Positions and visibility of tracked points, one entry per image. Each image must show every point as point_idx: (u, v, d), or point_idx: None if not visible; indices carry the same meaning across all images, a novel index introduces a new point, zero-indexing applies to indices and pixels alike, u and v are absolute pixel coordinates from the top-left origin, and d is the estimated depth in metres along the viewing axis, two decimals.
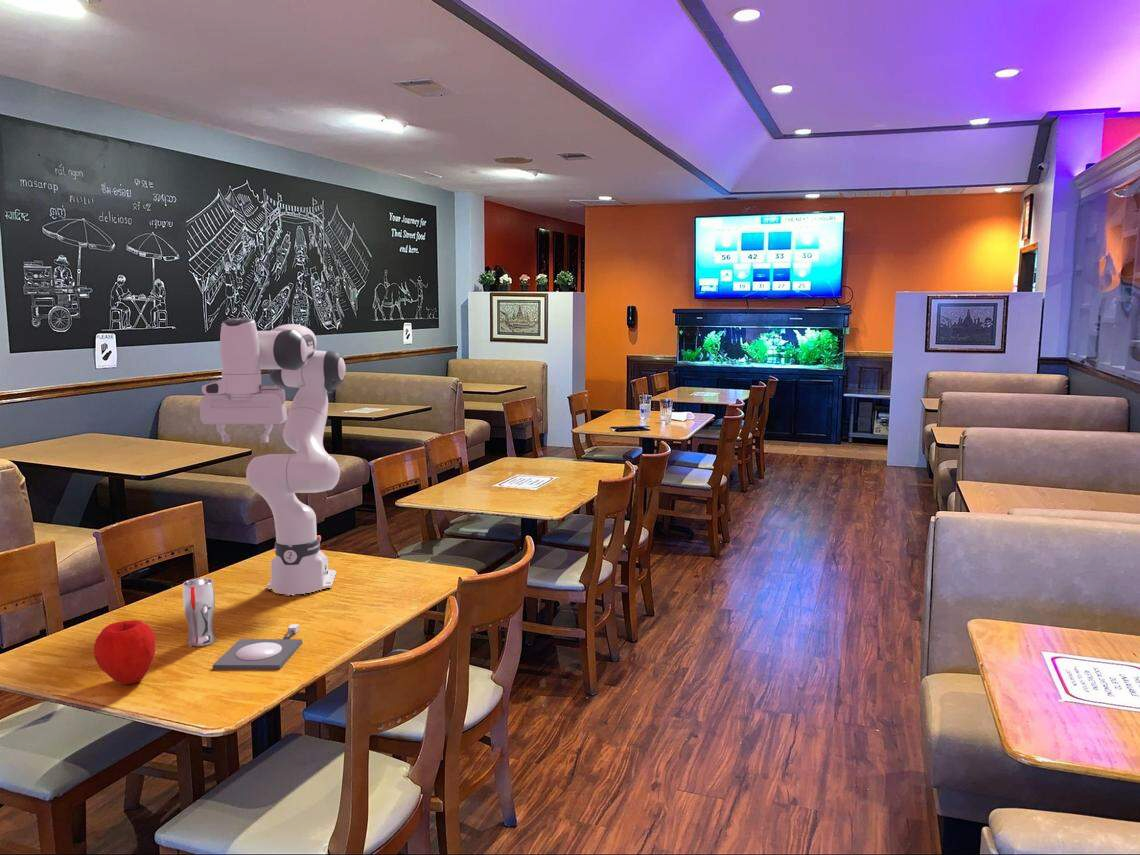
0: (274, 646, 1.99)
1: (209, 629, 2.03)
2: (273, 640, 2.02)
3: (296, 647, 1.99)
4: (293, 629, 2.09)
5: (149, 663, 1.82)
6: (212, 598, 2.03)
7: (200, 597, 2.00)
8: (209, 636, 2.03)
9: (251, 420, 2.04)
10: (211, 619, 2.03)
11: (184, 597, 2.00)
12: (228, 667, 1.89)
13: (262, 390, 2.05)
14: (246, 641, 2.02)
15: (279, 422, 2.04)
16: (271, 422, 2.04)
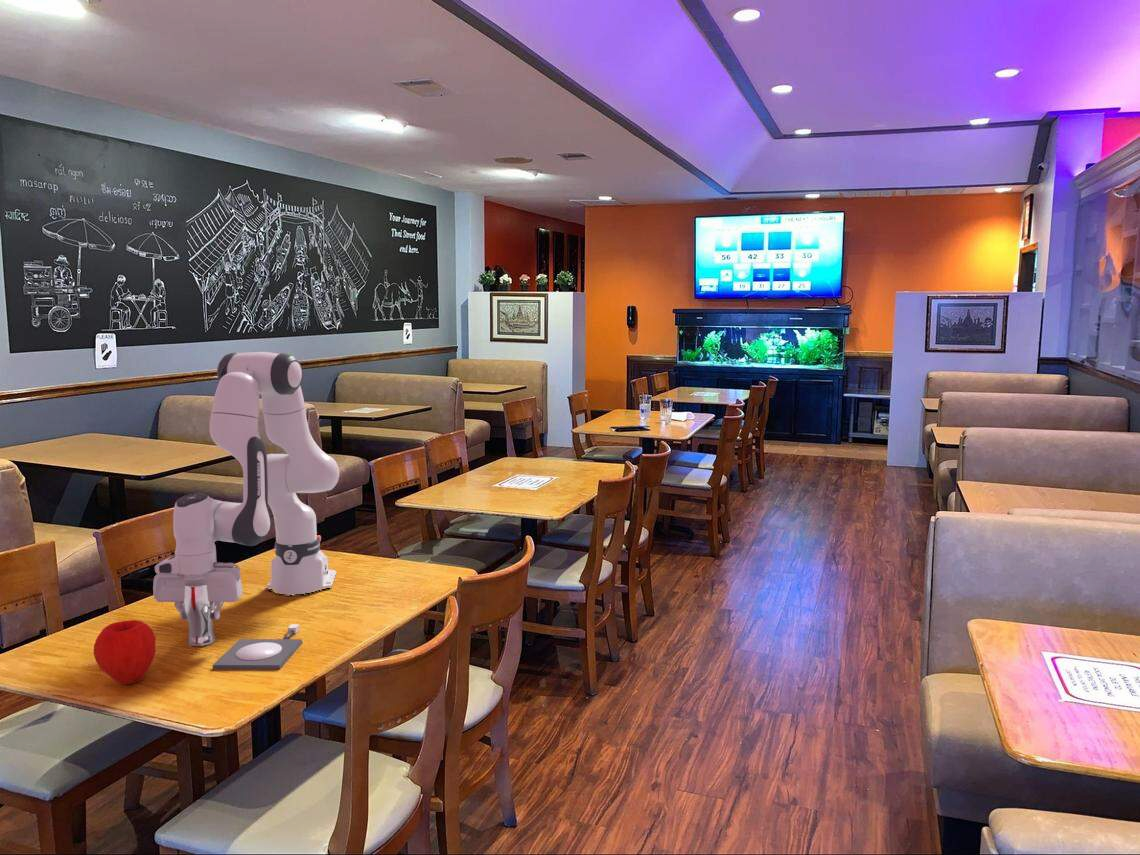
0: (274, 646, 1.99)
1: (209, 629, 2.03)
2: (273, 640, 2.02)
3: (296, 647, 1.99)
4: (293, 629, 2.09)
5: (149, 663, 1.82)
6: None
7: (200, 597, 2.00)
8: (209, 636, 2.03)
9: None
10: (211, 619, 2.03)
11: (184, 597, 2.00)
12: (228, 667, 1.89)
13: (216, 568, 2.01)
14: (246, 641, 2.02)
15: (234, 600, 2.01)
16: (225, 600, 2.01)
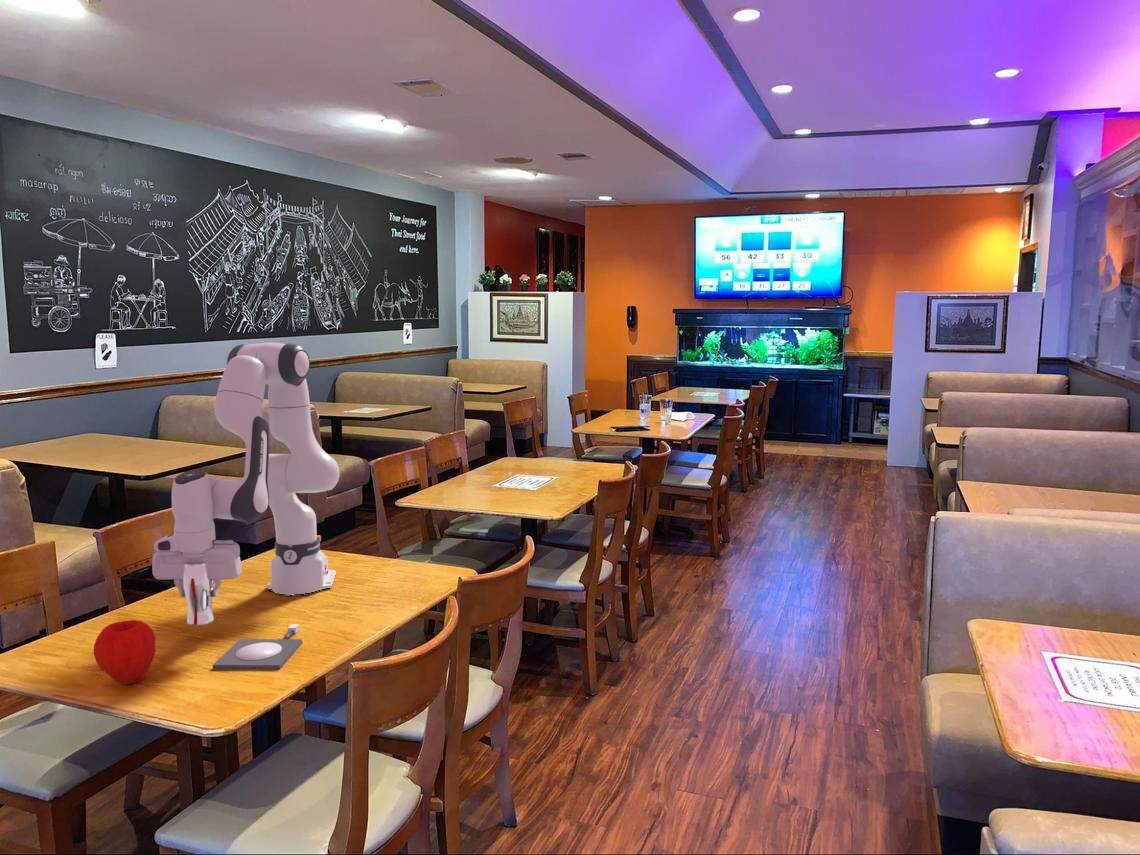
0: (274, 646, 1.99)
1: (208, 608, 2.03)
2: (273, 640, 2.02)
3: (296, 647, 1.99)
4: (293, 629, 2.09)
5: (149, 663, 1.82)
6: None
7: (200, 575, 1.99)
8: (208, 615, 2.02)
9: None
10: (210, 598, 2.03)
11: (183, 575, 2.00)
12: (228, 667, 1.89)
13: (215, 545, 2.01)
14: (246, 641, 2.02)
15: (233, 578, 2.01)
16: (225, 578, 2.01)
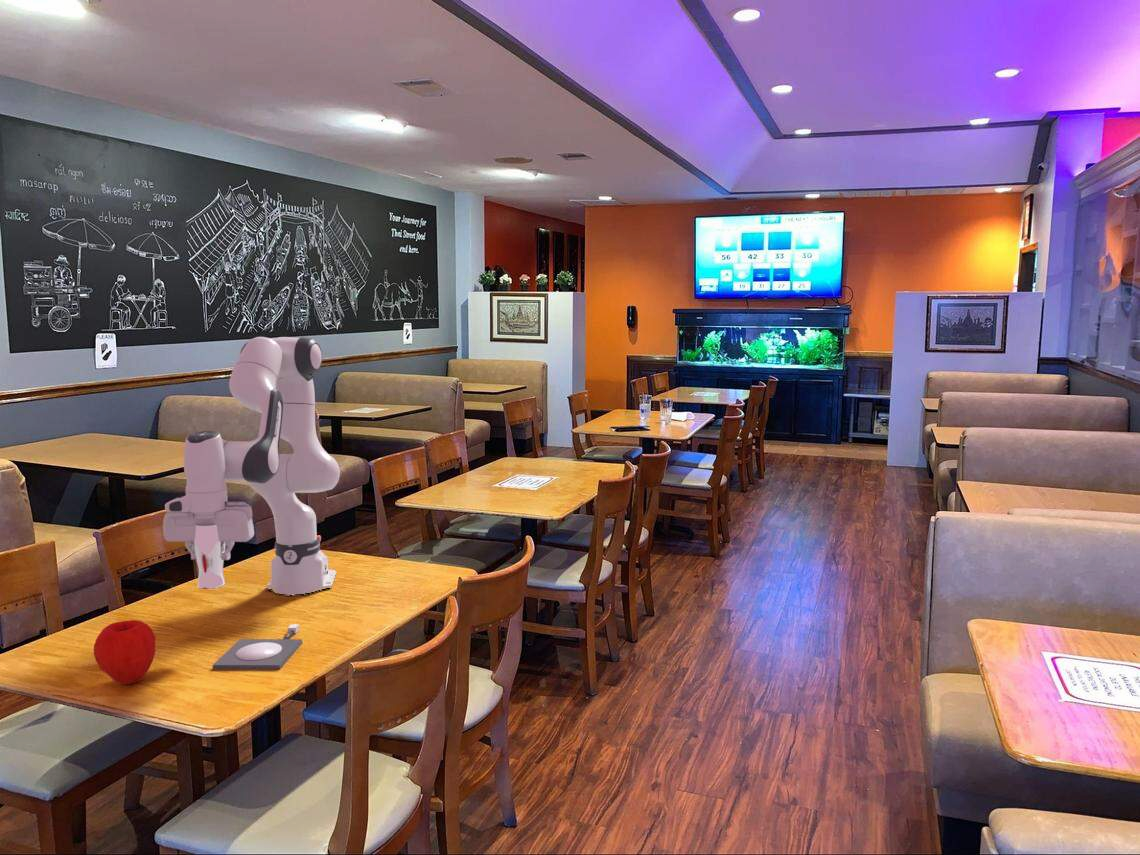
0: (274, 646, 1.99)
1: (219, 572, 1.99)
2: (273, 640, 2.02)
3: (296, 647, 1.99)
4: (293, 629, 2.09)
5: (149, 663, 1.82)
6: None
7: (211, 537, 1.96)
8: (219, 579, 1.98)
9: None
10: (221, 561, 1.99)
11: (195, 537, 1.96)
12: (228, 667, 1.89)
13: (228, 507, 1.97)
14: (246, 641, 2.02)
15: (245, 540, 1.97)
16: (237, 540, 1.97)
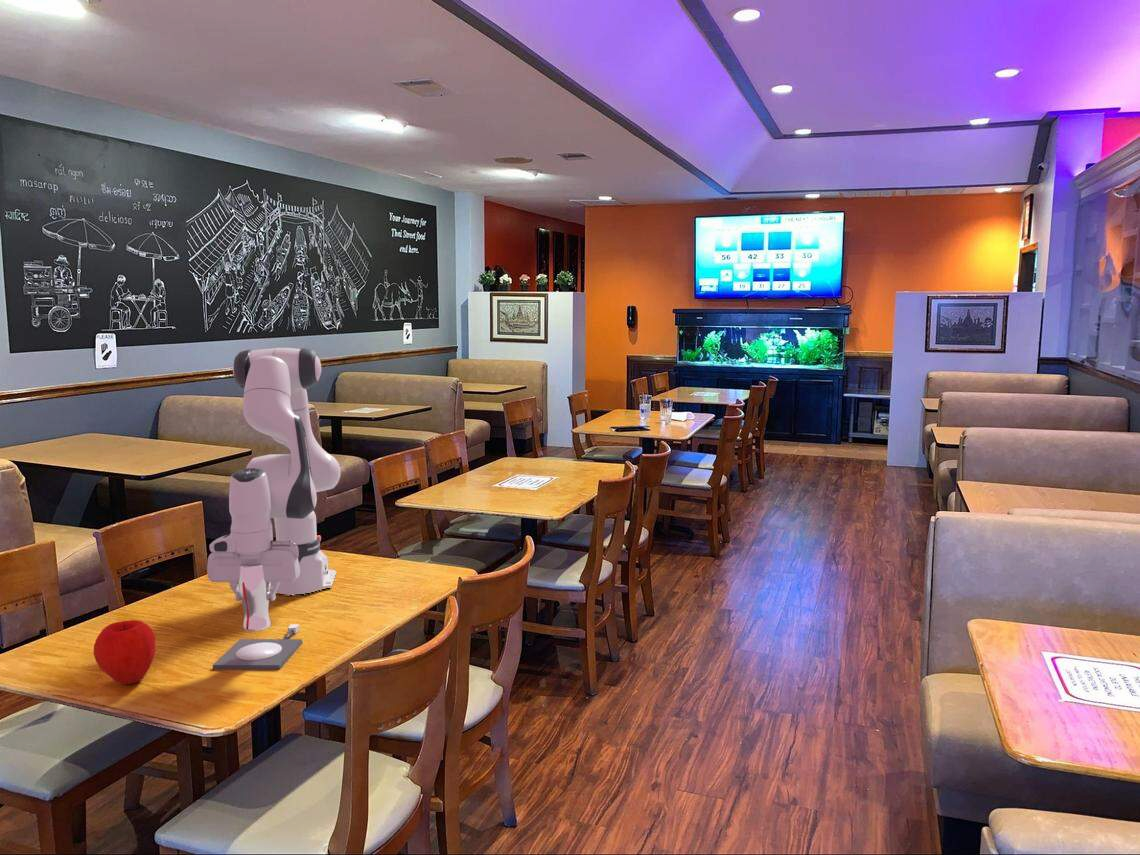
0: (274, 646, 1.99)
1: (265, 613, 1.94)
2: (273, 640, 2.02)
3: (296, 647, 1.99)
4: (293, 629, 2.09)
5: (149, 663, 1.82)
6: None
7: (257, 578, 1.91)
8: (265, 620, 1.93)
9: None
10: (267, 602, 1.94)
11: (240, 578, 1.91)
12: (228, 667, 1.89)
13: (274, 546, 1.92)
14: (246, 641, 2.02)
15: (292, 580, 1.92)
16: (283, 580, 1.92)
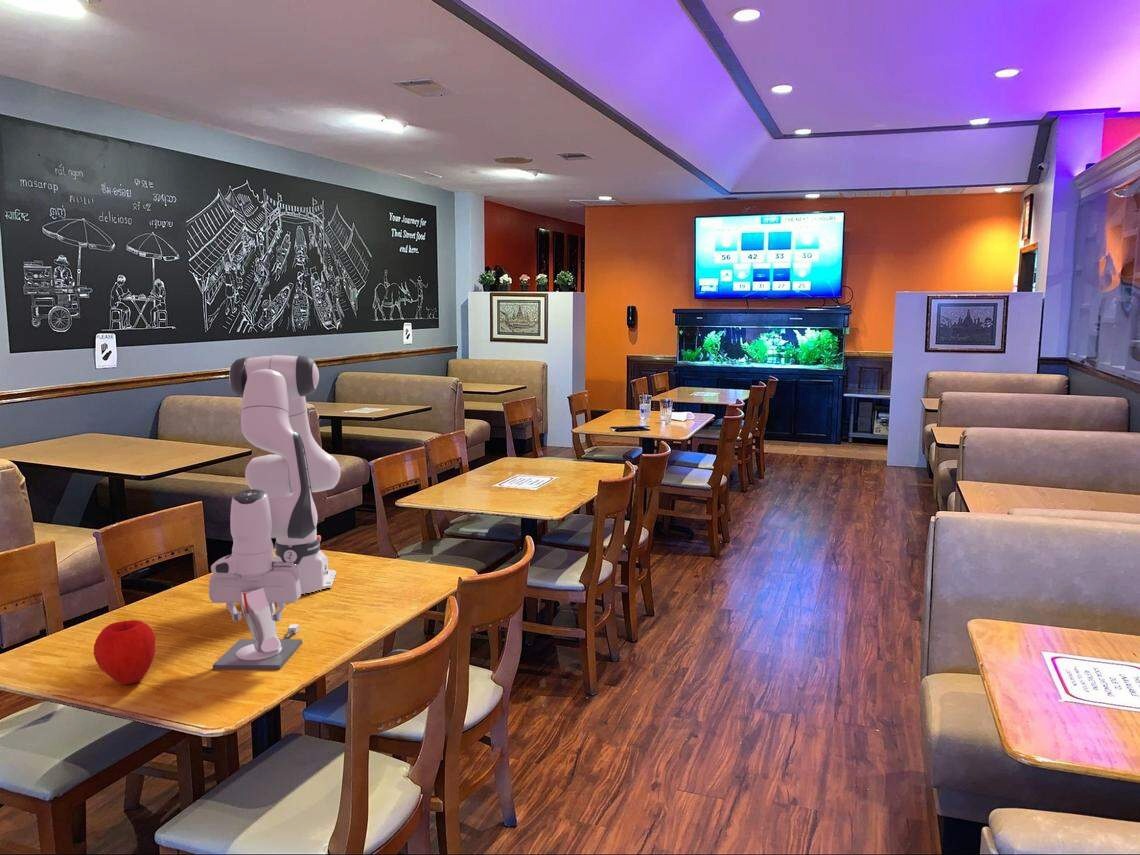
0: None
1: (274, 634, 1.95)
2: None
3: (296, 647, 1.99)
4: (293, 629, 2.09)
5: (149, 663, 1.82)
6: None
7: (259, 601, 1.91)
8: (275, 641, 1.94)
9: None
10: (274, 623, 1.95)
11: (243, 604, 1.92)
12: (228, 667, 1.89)
13: (275, 567, 1.93)
14: (246, 641, 2.02)
15: (293, 601, 1.93)
16: (284, 601, 1.93)
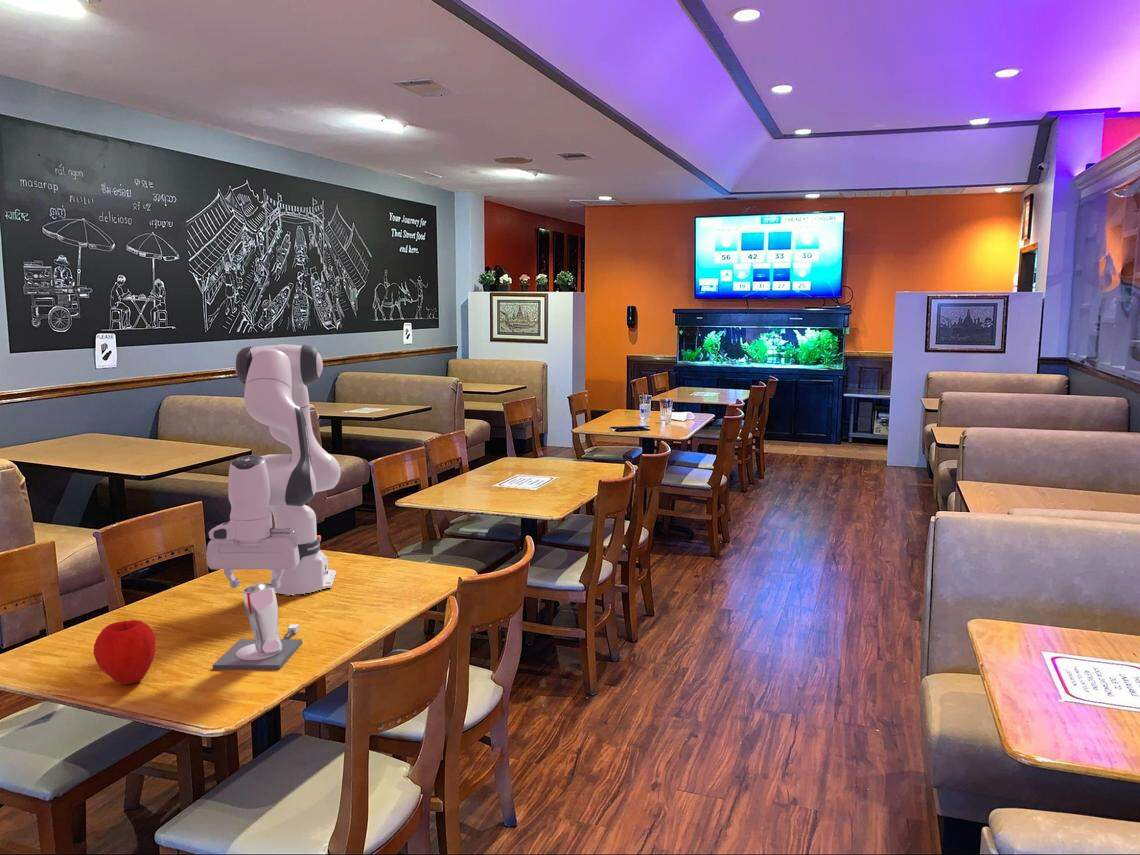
0: None
1: (275, 635, 1.95)
2: None
3: (296, 647, 1.99)
4: (293, 629, 2.09)
5: (149, 663, 1.82)
6: (275, 602, 1.94)
7: (263, 602, 1.91)
8: (276, 642, 1.94)
9: (261, 566, 1.92)
10: (276, 624, 1.95)
11: (246, 604, 1.92)
12: (228, 667, 1.89)
13: (273, 533, 1.92)
14: (246, 641, 2.02)
15: (291, 568, 1.92)
16: (283, 568, 1.92)
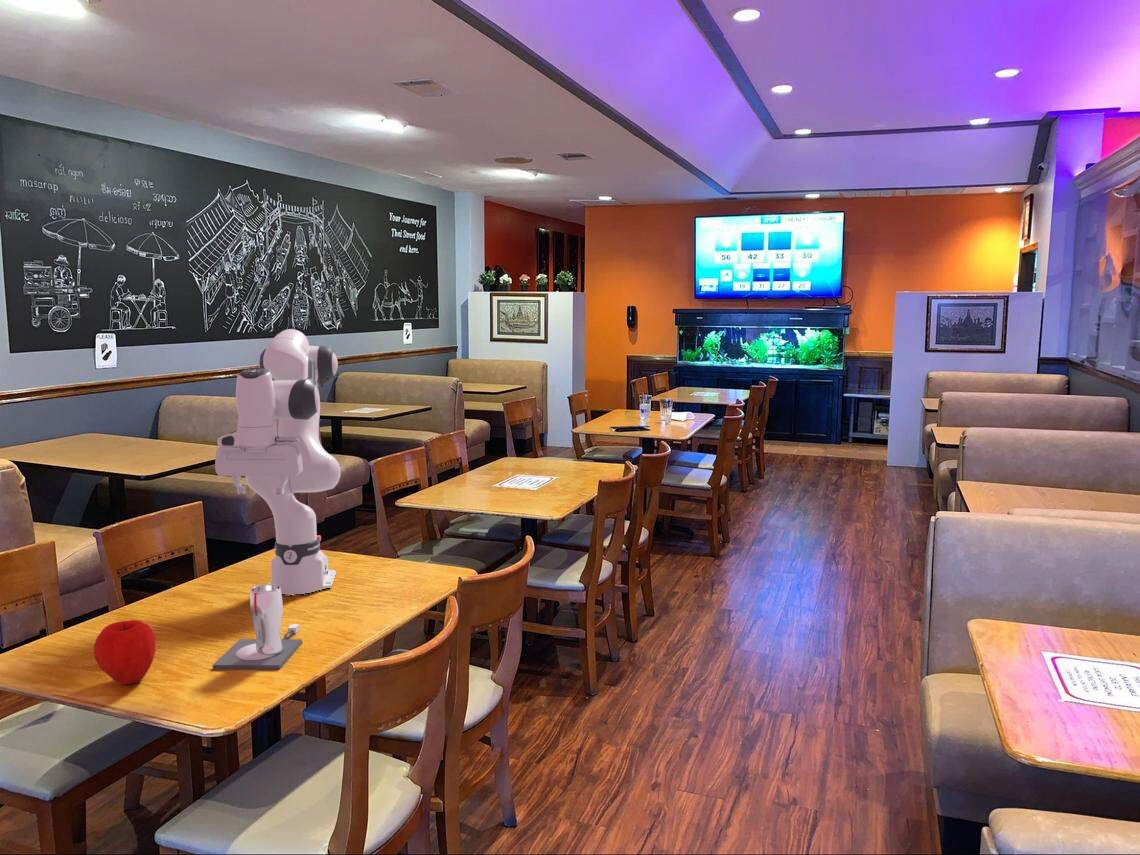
0: None
1: (277, 637, 1.95)
2: None
3: (296, 647, 1.99)
4: (293, 629, 2.09)
5: (149, 663, 1.82)
6: (281, 605, 1.94)
7: (269, 604, 1.91)
8: (277, 645, 1.94)
9: (267, 472, 2.03)
10: (279, 627, 1.95)
11: (252, 604, 1.92)
12: (228, 667, 1.89)
13: (278, 442, 2.03)
14: (246, 641, 2.02)
15: (295, 474, 2.03)
16: (287, 474, 2.03)
